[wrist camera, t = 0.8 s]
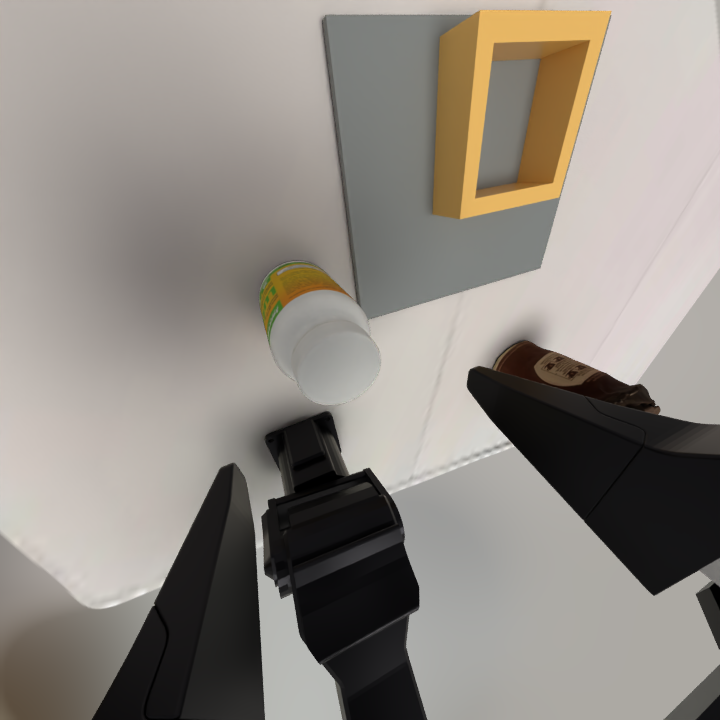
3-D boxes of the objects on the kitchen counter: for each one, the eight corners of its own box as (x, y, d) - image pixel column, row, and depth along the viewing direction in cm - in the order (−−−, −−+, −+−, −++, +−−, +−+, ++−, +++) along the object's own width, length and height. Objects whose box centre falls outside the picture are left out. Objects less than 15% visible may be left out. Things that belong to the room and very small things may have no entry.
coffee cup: (501, 332, 30) (634, 407, 20) (550, 326, 34) (686, 390, 24) (476, 393, 35) (575, 479, 25) (521, 383, 38) (625, 456, 28)
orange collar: (523, 195, 22) (559, 197, 19) (432, 214, 20) (460, 219, 17) (557, 34, 17) (611, 10, 14) (439, 36, 14) (480, 10, 12)
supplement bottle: (251, 261, 17) (270, 325, 10) (332, 257, 19) (401, 308, 12) (264, 336, 20) (286, 429, 13) (334, 326, 22) (389, 403, 14)
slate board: (534, 266, 27) (540, 268, 27) (359, 318, 22) (362, 321, 22) (601, 19, 18) (611, 15, 17) (322, 20, 13) (325, 14, 13)
